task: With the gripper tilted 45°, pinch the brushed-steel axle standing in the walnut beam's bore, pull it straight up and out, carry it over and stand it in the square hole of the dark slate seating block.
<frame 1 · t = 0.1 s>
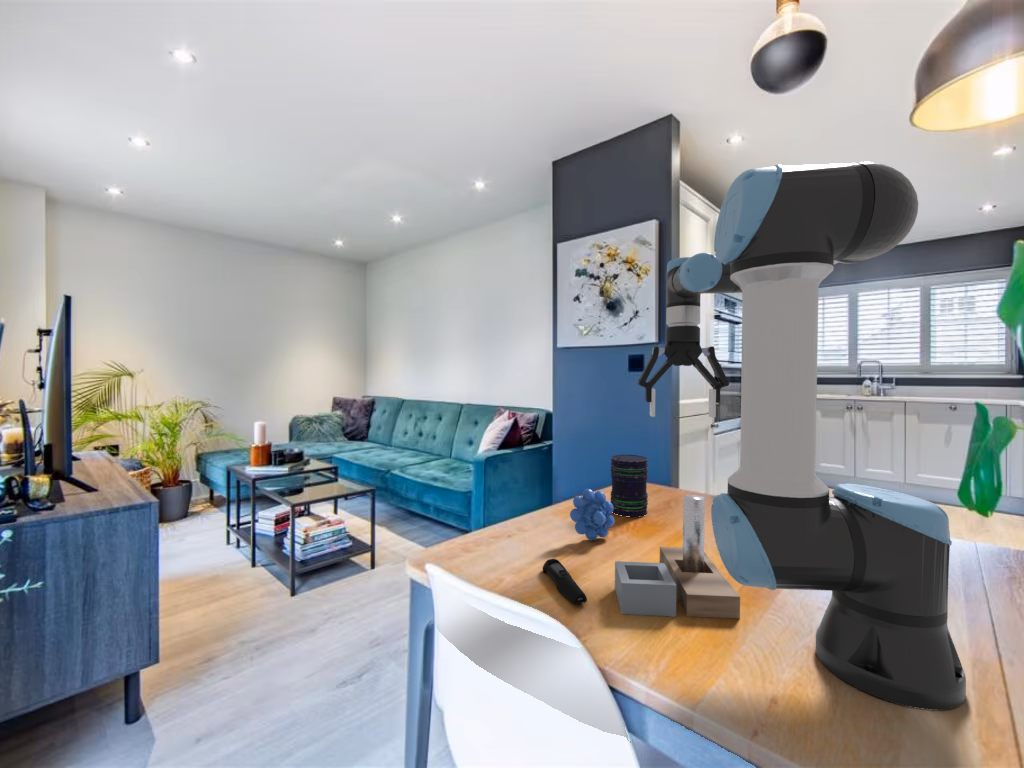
hand: (682, 416, 110), 28 cm above the table, tool pointing down, fingers open, 13 cm apart
beam: (694, 587, 83), on the table
axle: (693, 579, 84), point 1 cm above the table, touching beam
blue lobed rosette: (594, 542, 106), on the table
dark blue ridged cylinder: (628, 512, 128), on the table
seating block: (643, 601, 78), on the table
electric trimmer: (564, 589, 84), on the table
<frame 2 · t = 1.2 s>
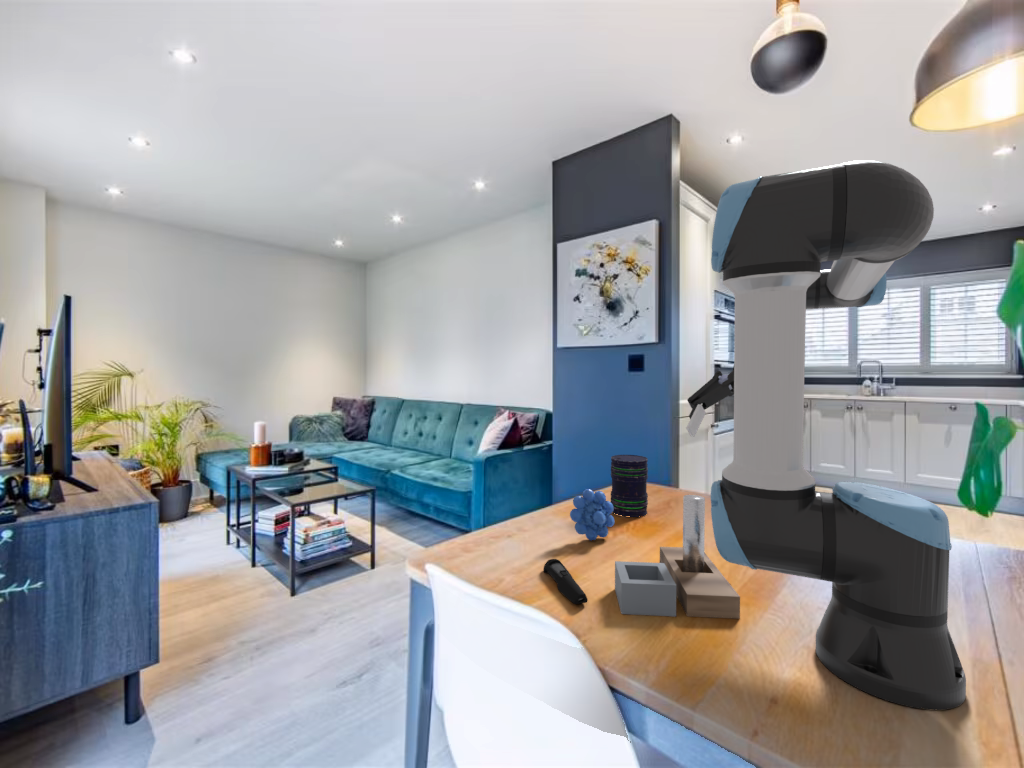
hand: (722, 436, 90), 26 cm above the table, tool tilted 45°, fingers open, 13 cm apart
nothing on the table moved.
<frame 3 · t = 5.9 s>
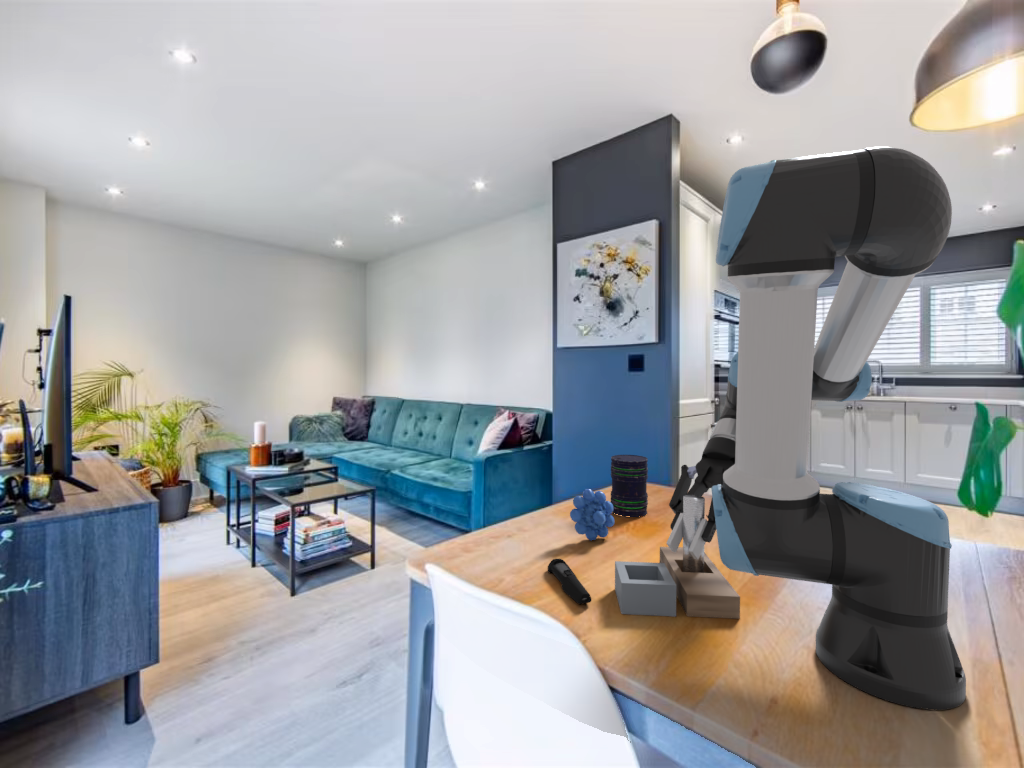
hand: (682, 551, 82), 7 cm above the table, tool tilted 45°, fingers closed on axle, 3 cm apart
axle: (693, 579, 84), point 1 cm above the table, touching beam, gripper
everything else where it was.
when the fingers open (9 cm above the table, at t = 12.2 s): axle drops 1 cm, resting on seating block.
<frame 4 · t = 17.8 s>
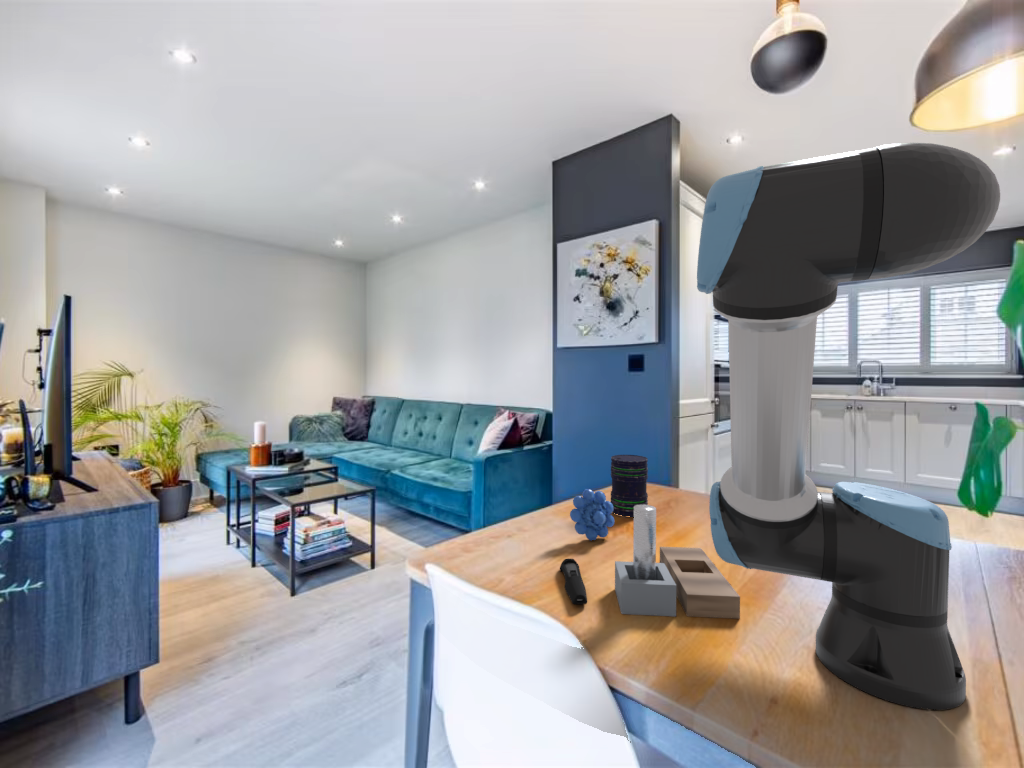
hand: (768, 412, 90), 31 cm above the table, tool pointing down, fingers open, 13 cm apart
axle: (644, 596, 78), point 1 cm above the table, touching seating block
at the end: axle 0.1 cm off-centre on the seating block, point 1.0 cm above the seating block's base; axle tilted 1°; the gripper is holding nothing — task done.
